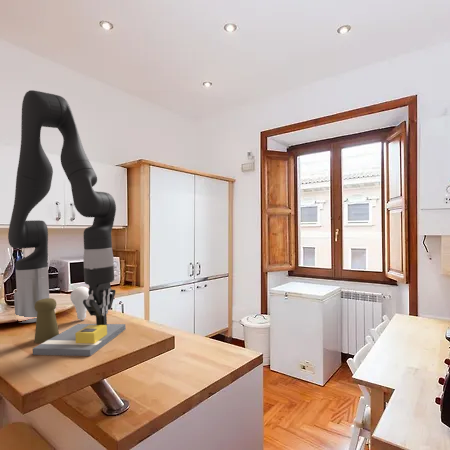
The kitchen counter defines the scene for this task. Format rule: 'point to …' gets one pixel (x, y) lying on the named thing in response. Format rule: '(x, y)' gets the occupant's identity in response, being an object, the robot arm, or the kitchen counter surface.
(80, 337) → the block
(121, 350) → the kitchen counter surface
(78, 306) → the lightbulb
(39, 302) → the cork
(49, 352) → the board
